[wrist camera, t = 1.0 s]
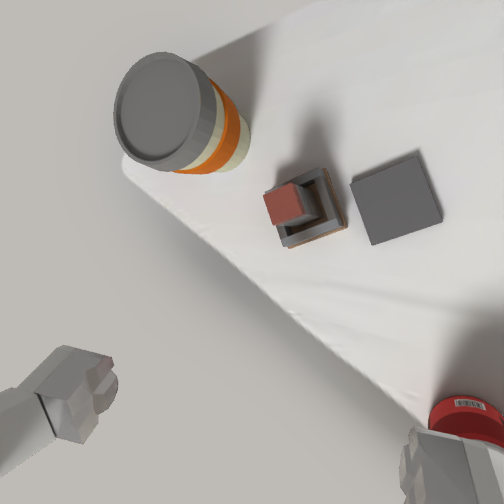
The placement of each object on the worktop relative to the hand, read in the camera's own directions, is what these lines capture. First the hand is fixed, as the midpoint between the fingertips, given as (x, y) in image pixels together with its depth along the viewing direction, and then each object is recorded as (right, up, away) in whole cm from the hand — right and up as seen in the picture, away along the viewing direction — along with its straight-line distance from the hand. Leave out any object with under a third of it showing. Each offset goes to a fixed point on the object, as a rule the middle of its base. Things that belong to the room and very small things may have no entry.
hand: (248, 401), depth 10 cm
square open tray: (+8, +10, +38) cm, 40 cm away
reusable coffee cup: (-4, +20, +43) cm, 48 cm away
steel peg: (+7, +10, +37) cm, 39 cm away
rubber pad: (+17, +10, +34) cm, 39 cm away
